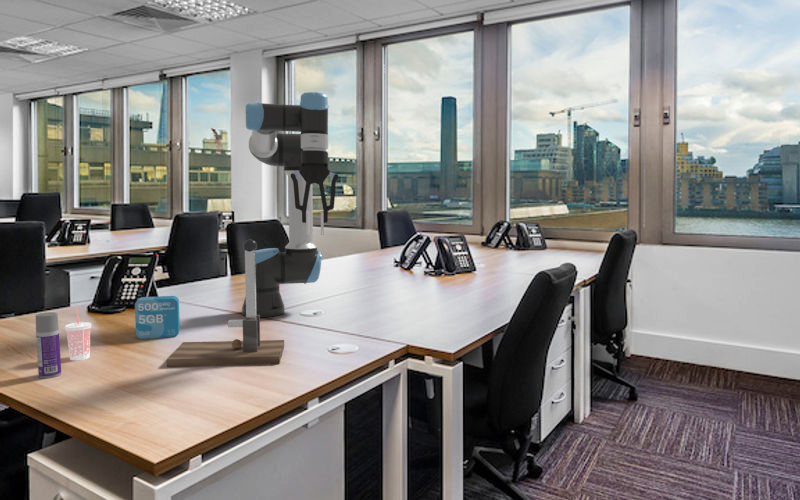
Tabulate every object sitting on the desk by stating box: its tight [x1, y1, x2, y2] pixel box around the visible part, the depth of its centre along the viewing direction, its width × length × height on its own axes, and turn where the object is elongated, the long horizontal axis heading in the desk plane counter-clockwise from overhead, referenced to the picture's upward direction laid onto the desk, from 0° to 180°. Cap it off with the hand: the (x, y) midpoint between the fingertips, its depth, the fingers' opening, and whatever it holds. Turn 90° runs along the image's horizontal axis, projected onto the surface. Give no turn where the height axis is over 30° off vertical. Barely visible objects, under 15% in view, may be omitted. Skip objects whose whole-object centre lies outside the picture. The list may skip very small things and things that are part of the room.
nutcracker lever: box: [227, 238, 258, 328], centre depth 151 cm, size 4×8×24 cm, turn 97°
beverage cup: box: [64, 305, 92, 361], centre depth 149 cm, size 6×6×14 cm
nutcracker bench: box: [166, 315, 285, 368], centre depth 152 cm, size 16×28×10 cm, turn 97°
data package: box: [134, 295, 181, 340], centre depth 172 cm, size 12×4×12 cm, turn 108°
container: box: [35, 311, 62, 379], centre depth 135 cm, size 5×5×15 cm
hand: (315, 234), depth 159 cm, fingers open, 3 cm apart
